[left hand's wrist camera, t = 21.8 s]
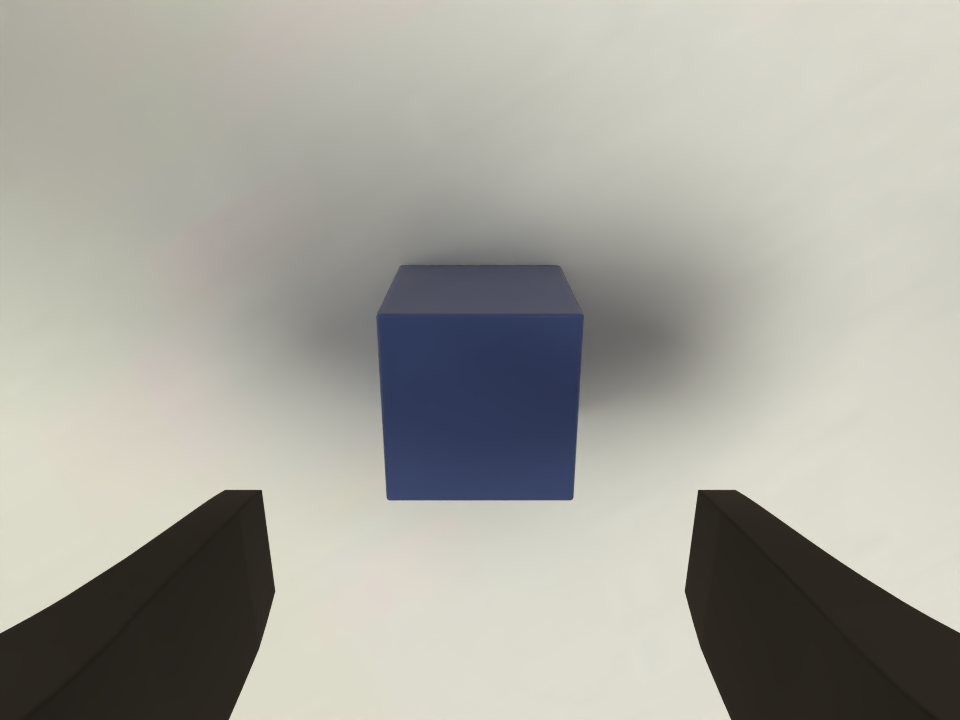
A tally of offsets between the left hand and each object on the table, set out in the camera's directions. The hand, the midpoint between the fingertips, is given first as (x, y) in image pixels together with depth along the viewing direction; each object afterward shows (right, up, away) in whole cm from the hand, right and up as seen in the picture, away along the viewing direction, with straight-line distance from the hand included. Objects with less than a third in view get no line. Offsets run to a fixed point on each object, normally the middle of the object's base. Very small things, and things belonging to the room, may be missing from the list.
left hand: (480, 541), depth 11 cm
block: (0, +3, +9) cm, 9 cm away
